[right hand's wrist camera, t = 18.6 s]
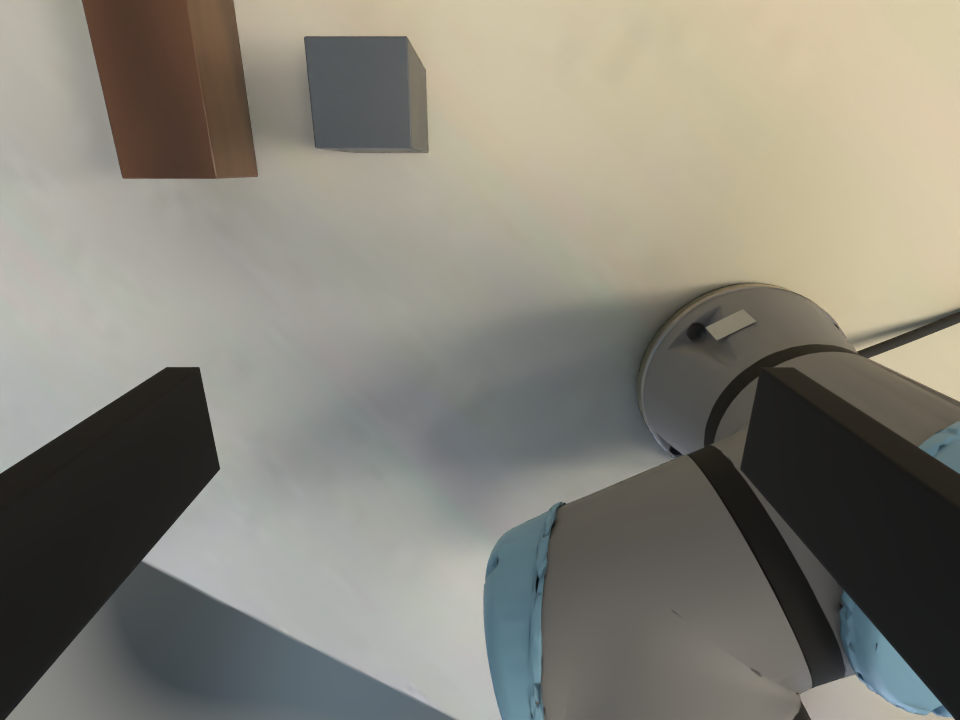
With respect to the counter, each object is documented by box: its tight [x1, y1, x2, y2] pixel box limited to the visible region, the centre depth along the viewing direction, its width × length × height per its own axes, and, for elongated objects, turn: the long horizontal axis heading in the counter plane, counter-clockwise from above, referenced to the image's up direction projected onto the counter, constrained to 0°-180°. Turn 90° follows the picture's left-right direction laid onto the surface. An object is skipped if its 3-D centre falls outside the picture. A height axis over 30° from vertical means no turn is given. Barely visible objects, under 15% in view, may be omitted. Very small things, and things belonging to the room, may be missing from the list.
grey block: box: [304, 36, 428, 153], centre depth 30 cm, size 5×5×9 cm
